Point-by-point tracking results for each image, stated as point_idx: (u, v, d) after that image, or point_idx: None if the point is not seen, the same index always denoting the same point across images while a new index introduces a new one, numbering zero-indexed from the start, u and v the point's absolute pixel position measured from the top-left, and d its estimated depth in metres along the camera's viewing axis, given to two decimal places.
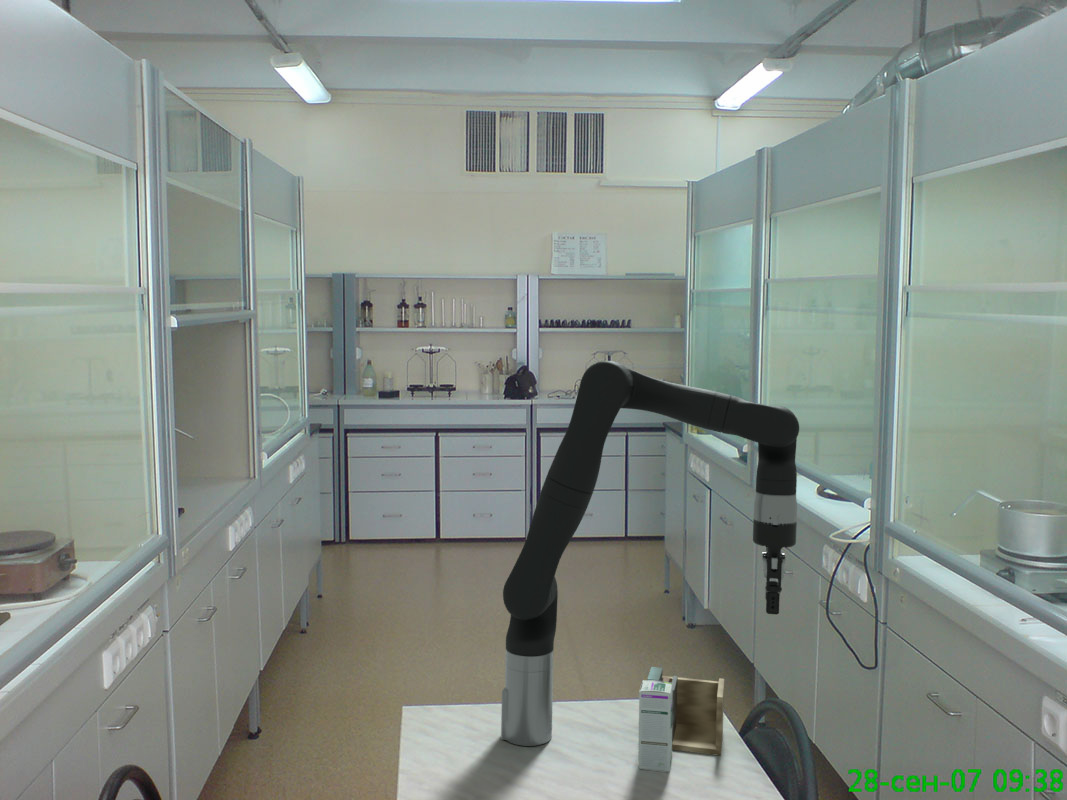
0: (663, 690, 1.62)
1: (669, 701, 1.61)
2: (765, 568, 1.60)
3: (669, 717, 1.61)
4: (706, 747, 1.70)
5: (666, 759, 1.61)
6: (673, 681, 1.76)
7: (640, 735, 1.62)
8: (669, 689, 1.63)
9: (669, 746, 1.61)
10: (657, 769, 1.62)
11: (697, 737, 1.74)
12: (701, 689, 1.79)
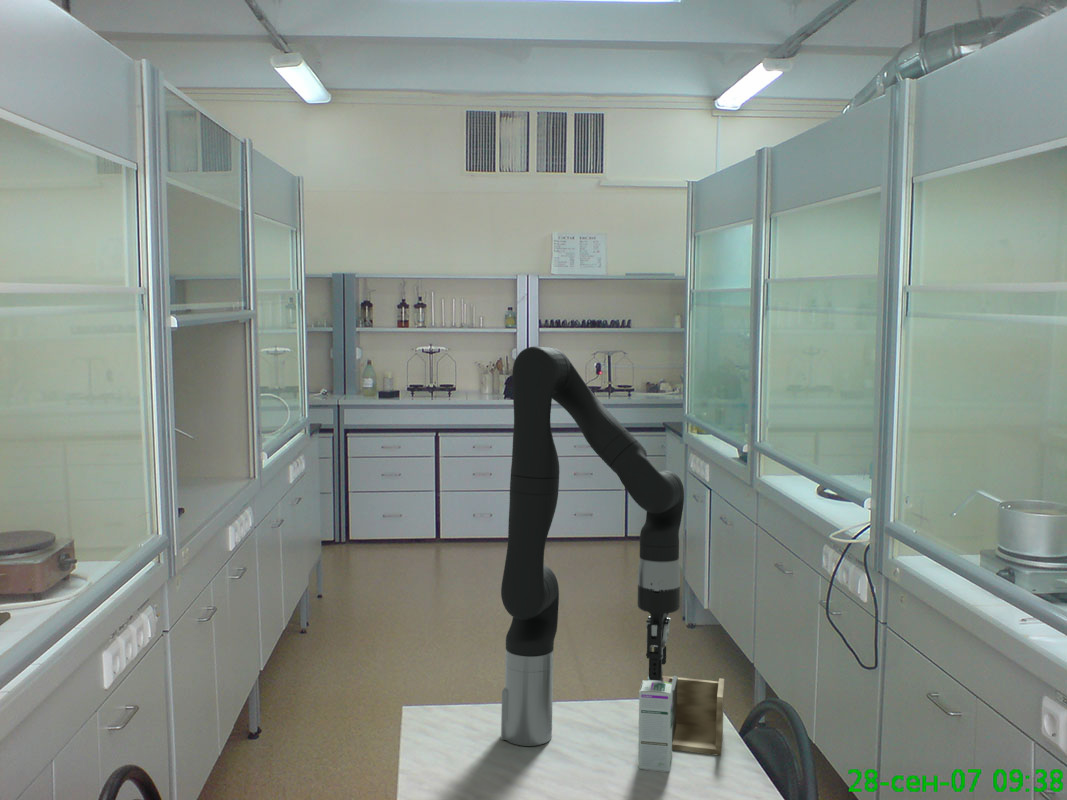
0: (663, 690, 1.62)
1: (669, 701, 1.61)
2: None
3: (669, 717, 1.61)
4: (706, 747, 1.70)
5: (666, 759, 1.61)
6: (673, 681, 1.76)
7: (640, 735, 1.62)
8: (669, 689, 1.63)
9: (669, 746, 1.61)
10: (657, 769, 1.62)
11: (697, 737, 1.74)
12: (701, 689, 1.79)
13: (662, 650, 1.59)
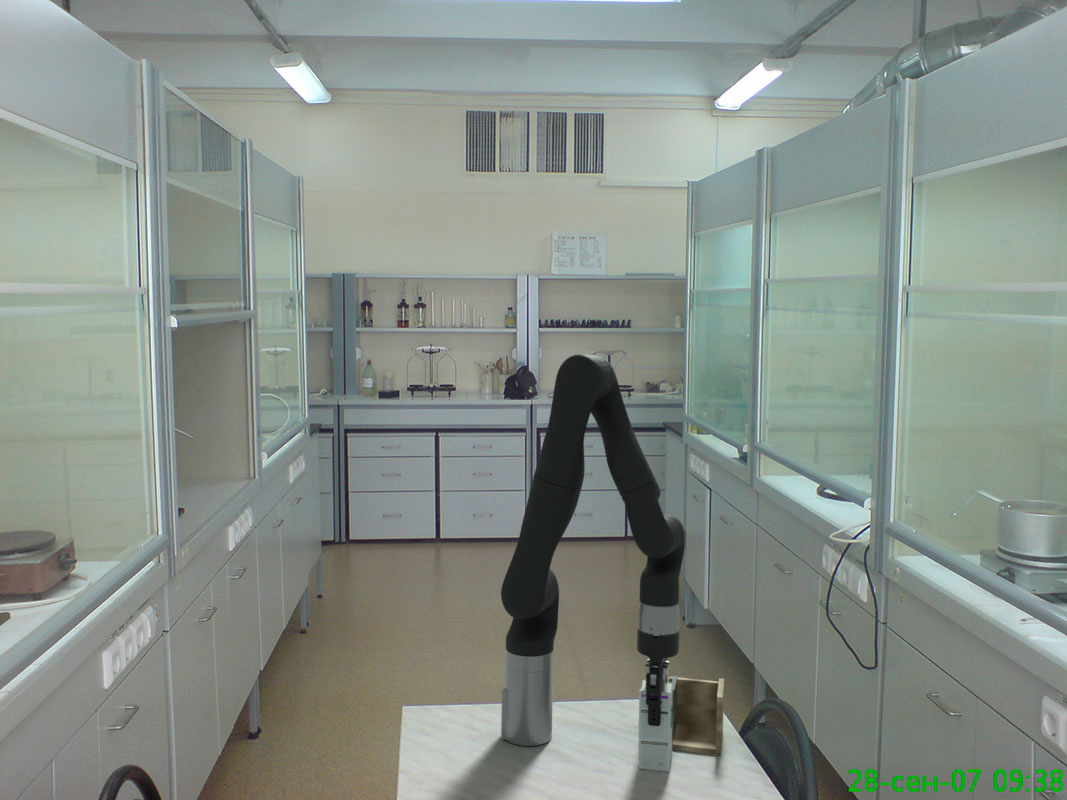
0: None
1: (669, 701, 1.61)
2: None
3: (669, 717, 1.61)
4: (706, 747, 1.70)
5: (666, 758, 1.61)
6: (673, 681, 1.76)
7: (640, 735, 1.62)
8: (669, 689, 1.63)
9: (669, 746, 1.61)
10: (657, 769, 1.62)
11: (697, 737, 1.74)
12: (701, 689, 1.79)
13: (661, 696, 1.61)
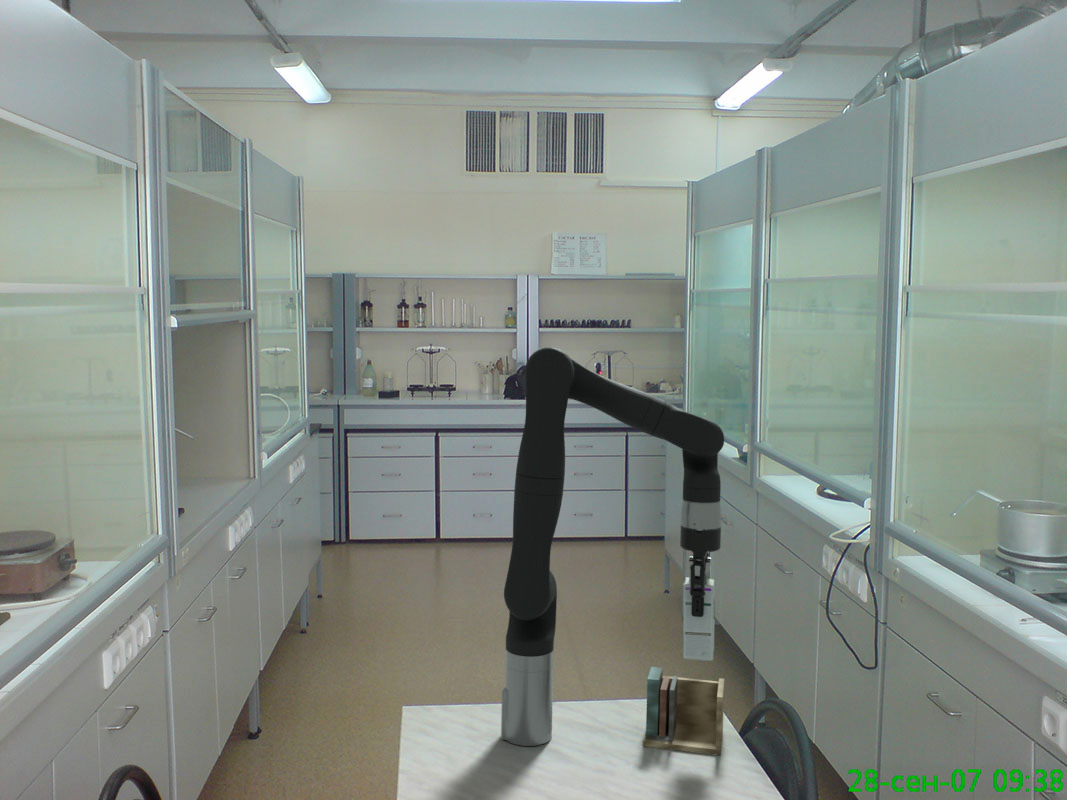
0: None
1: (712, 593, 1.69)
2: (691, 573, 1.70)
3: (712, 608, 1.70)
4: (706, 747, 1.70)
5: (710, 648, 1.70)
6: (673, 681, 1.76)
7: (684, 626, 1.71)
8: (712, 583, 1.71)
9: (712, 636, 1.70)
10: (701, 658, 1.70)
11: (697, 737, 1.74)
12: (701, 689, 1.79)
13: (704, 588, 1.69)
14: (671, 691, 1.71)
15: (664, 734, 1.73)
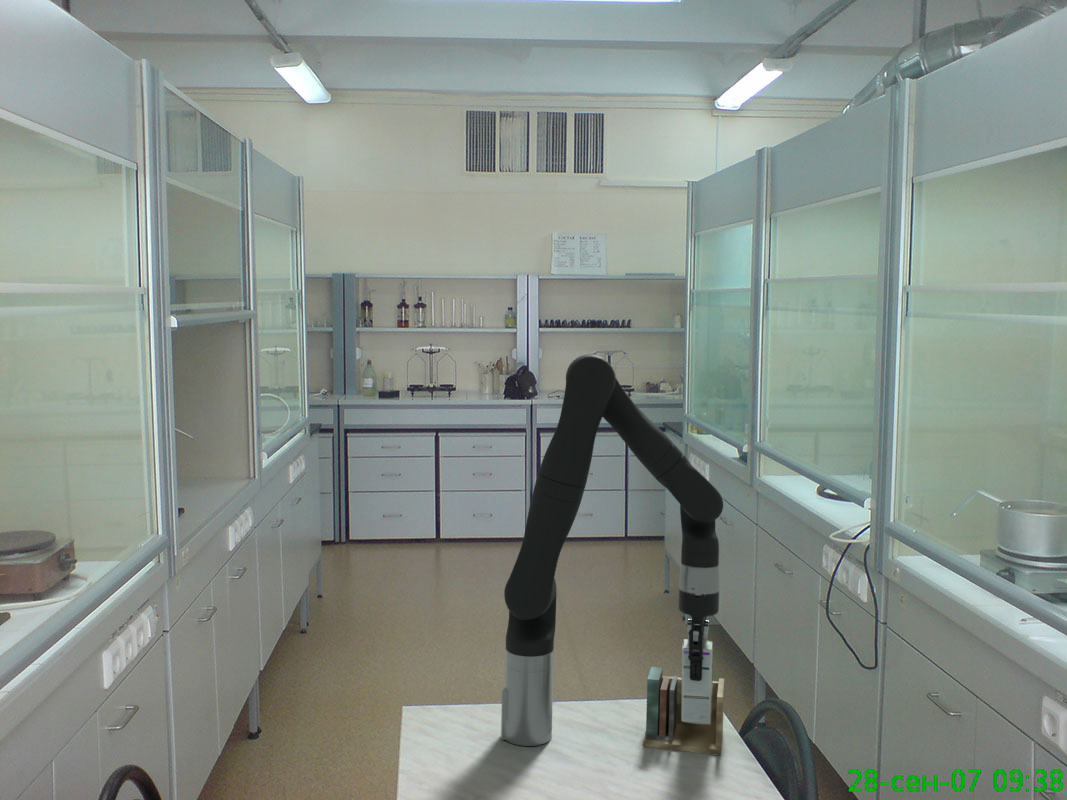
0: None
1: (710, 657, 1.70)
2: (689, 637, 1.71)
3: (710, 672, 1.70)
4: (706, 747, 1.70)
5: (708, 712, 1.71)
6: (673, 681, 1.76)
7: (683, 690, 1.71)
8: (710, 646, 1.72)
9: (710, 700, 1.71)
10: (699, 722, 1.71)
11: (697, 737, 1.74)
12: None
13: (702, 652, 1.70)
14: (671, 691, 1.71)
15: (664, 734, 1.73)
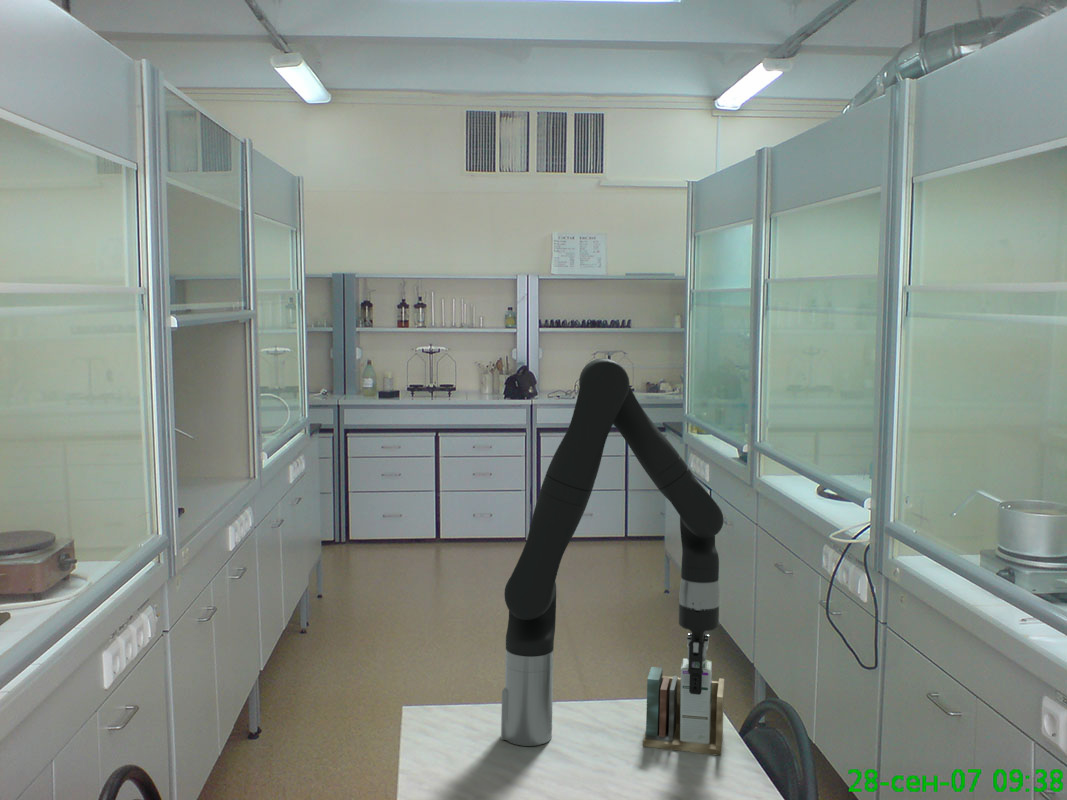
0: (703, 667, 1.71)
1: (709, 677, 1.70)
2: (689, 650, 1.71)
3: (709, 692, 1.70)
4: (706, 747, 1.70)
5: (706, 732, 1.71)
6: (673, 681, 1.76)
7: (681, 709, 1.72)
8: (709, 666, 1.72)
9: (709, 720, 1.71)
10: (697, 742, 1.71)
11: None
12: None
13: (702, 666, 1.69)
14: (671, 691, 1.71)
15: (664, 734, 1.73)
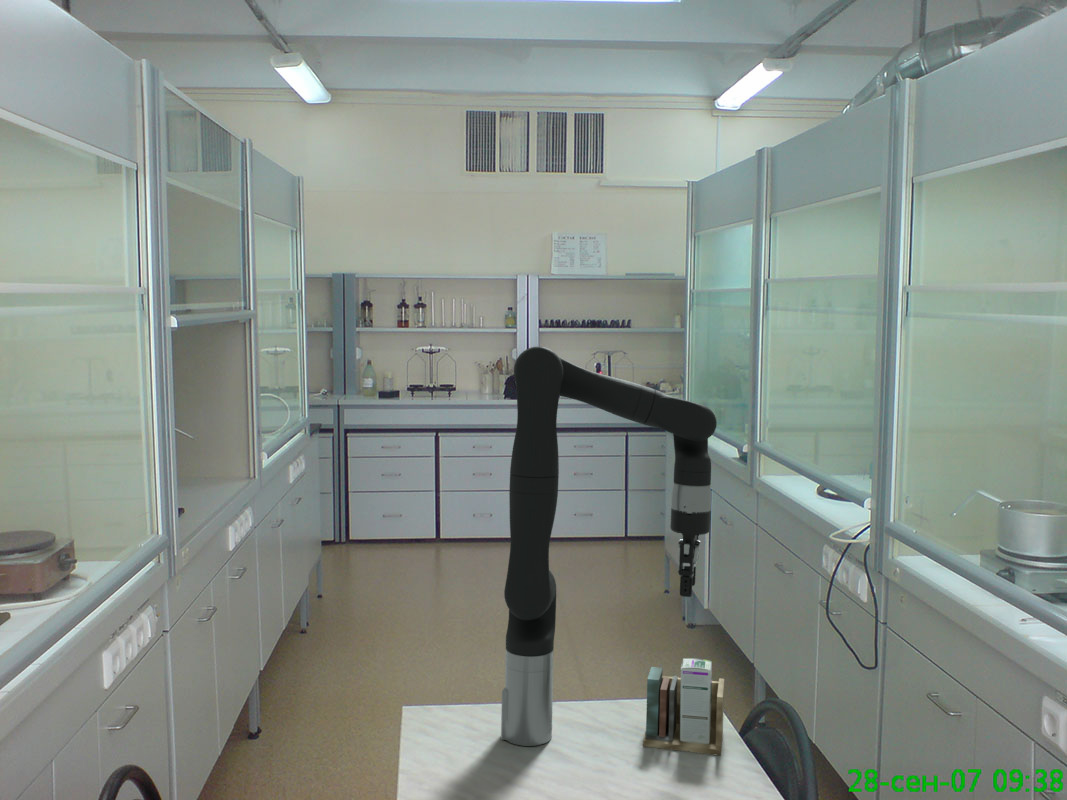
0: (703, 667, 1.71)
1: (709, 677, 1.70)
2: (680, 554, 1.72)
3: (709, 692, 1.70)
4: (706, 747, 1.70)
5: (706, 732, 1.71)
6: (673, 681, 1.76)
7: (681, 709, 1.72)
8: (709, 666, 1.72)
9: (709, 720, 1.71)
10: (697, 742, 1.71)
11: None
12: None
13: (693, 569, 1.70)
14: (671, 691, 1.71)
15: (664, 734, 1.73)
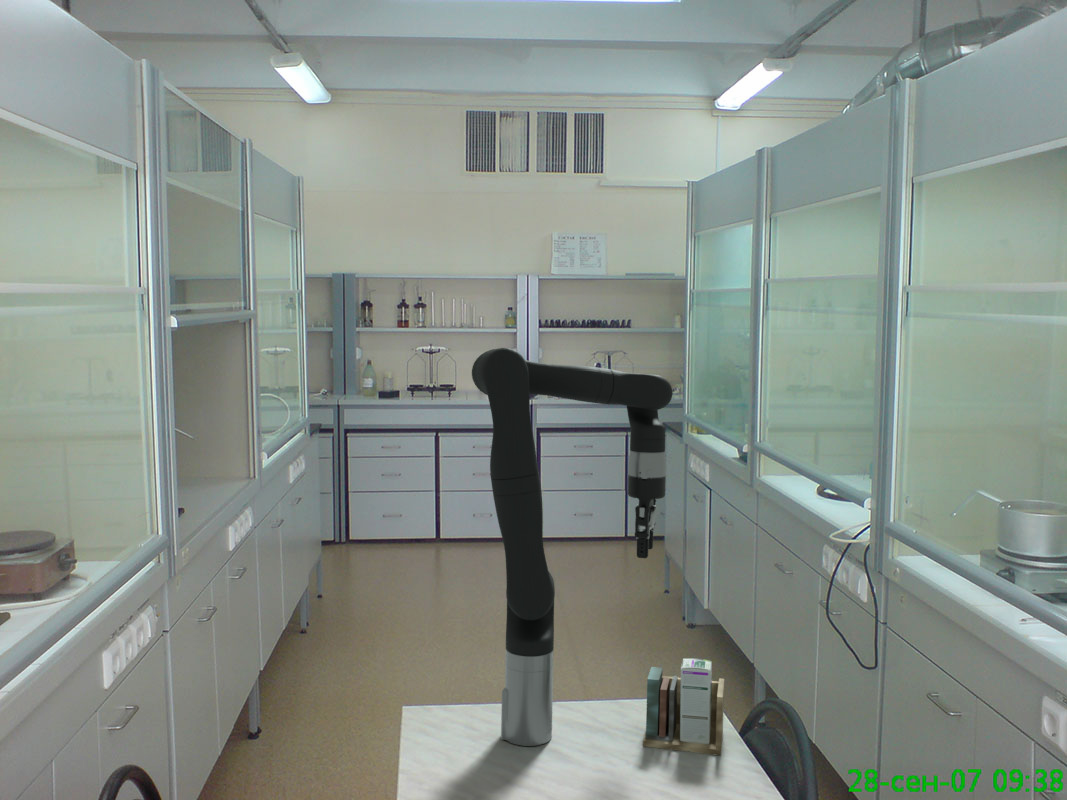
0: (703, 667, 1.71)
1: (709, 677, 1.70)
2: None
3: (709, 692, 1.70)
4: (706, 747, 1.70)
5: (706, 732, 1.71)
6: (673, 681, 1.76)
7: (681, 709, 1.72)
8: (709, 666, 1.72)
9: (709, 720, 1.71)
10: (697, 742, 1.71)
11: None
12: None
13: (649, 531, 1.79)
14: (671, 691, 1.71)
15: (664, 734, 1.73)
